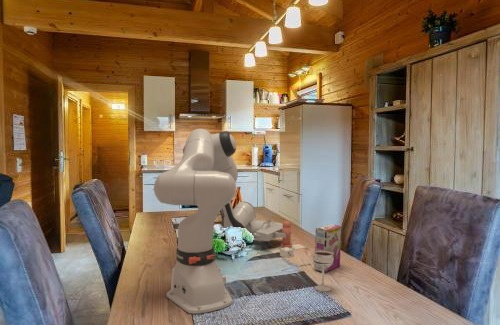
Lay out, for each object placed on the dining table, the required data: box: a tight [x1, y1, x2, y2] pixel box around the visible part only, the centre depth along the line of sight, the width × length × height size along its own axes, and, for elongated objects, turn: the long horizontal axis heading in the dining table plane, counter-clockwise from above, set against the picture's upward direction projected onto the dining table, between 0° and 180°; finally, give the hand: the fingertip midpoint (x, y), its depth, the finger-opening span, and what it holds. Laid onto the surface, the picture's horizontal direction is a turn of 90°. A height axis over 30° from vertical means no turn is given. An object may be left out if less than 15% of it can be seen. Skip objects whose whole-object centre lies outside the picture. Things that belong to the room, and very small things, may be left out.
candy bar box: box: [313, 223, 342, 274], centre depth 129 cm, size 11×5×16 cm, turn 135°
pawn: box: [280, 220, 293, 248], centre depth 151 cm, size 5×5×12 cm
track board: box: [252, 243, 309, 258], centre depth 149 cm, size 10×30×1 cm, turn 119°
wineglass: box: [312, 249, 334, 292], centre depth 111 cm, size 7×7×12 cm
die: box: [279, 247, 294, 259], centre depth 141 cm, size 4×4×4 cm
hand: (288, 234), depth 151 cm, fingers closed on pawn, 3 cm apart
